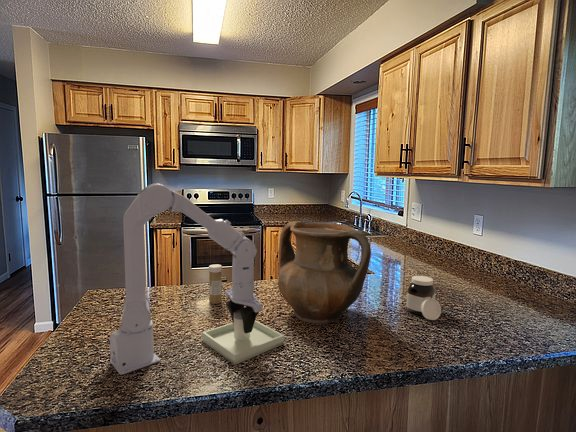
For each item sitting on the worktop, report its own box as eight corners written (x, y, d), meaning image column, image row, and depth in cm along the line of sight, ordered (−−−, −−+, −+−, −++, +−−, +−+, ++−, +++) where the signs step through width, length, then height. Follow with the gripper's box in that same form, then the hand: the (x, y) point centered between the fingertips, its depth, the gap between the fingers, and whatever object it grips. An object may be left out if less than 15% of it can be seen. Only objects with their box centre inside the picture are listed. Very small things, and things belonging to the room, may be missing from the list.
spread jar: (416, 304, 128) (418, 273, 127) (448, 313, 120) (450, 280, 119) (399, 313, 120) (401, 280, 118) (432, 324, 112) (435, 288, 110)
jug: (257, 322, 111) (257, 227, 107) (288, 293, 137) (289, 216, 133) (362, 340, 100) (367, 236, 96) (374, 305, 126) (378, 222, 122)
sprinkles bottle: (210, 299, 129) (209, 263, 128) (222, 299, 130) (222, 263, 128) (208, 304, 125) (207, 267, 123) (221, 304, 125) (221, 267, 124)
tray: (235, 364, 87) (234, 355, 86) (202, 340, 99) (202, 332, 98) (283, 344, 98) (284, 335, 97) (249, 324, 109) (249, 317, 109)
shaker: (241, 342, 95) (240, 317, 94) (230, 337, 98) (230, 312, 97) (253, 336, 98) (253, 312, 97) (243, 331, 101) (242, 308, 100)
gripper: (271, 284, 93) (271, 333, 95) (239, 272, 104) (239, 316, 106) (249, 290, 88) (249, 342, 90) (218, 276, 99) (219, 323, 101)
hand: (242, 329), depth 98 cm, fingers closed on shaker, 4 cm apart
